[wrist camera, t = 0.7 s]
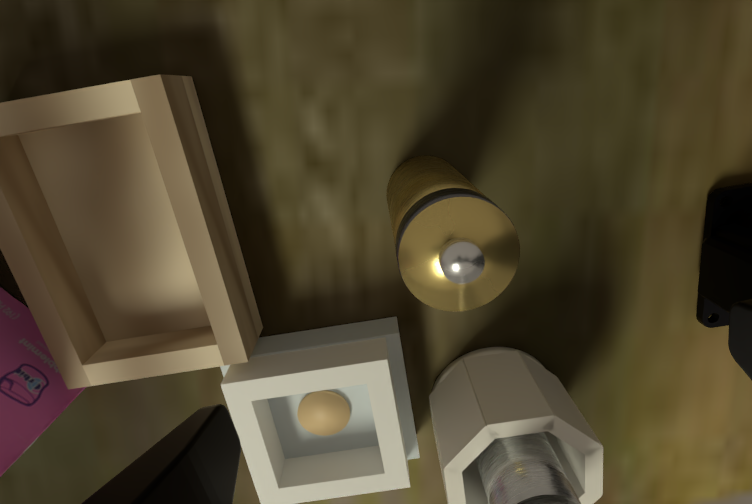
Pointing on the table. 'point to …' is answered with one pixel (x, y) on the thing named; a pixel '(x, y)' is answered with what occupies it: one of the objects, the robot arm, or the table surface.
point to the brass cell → (449, 236)
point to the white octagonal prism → (508, 420)
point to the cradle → (324, 412)
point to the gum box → (26, 382)
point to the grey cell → (524, 472)
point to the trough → (123, 232)
